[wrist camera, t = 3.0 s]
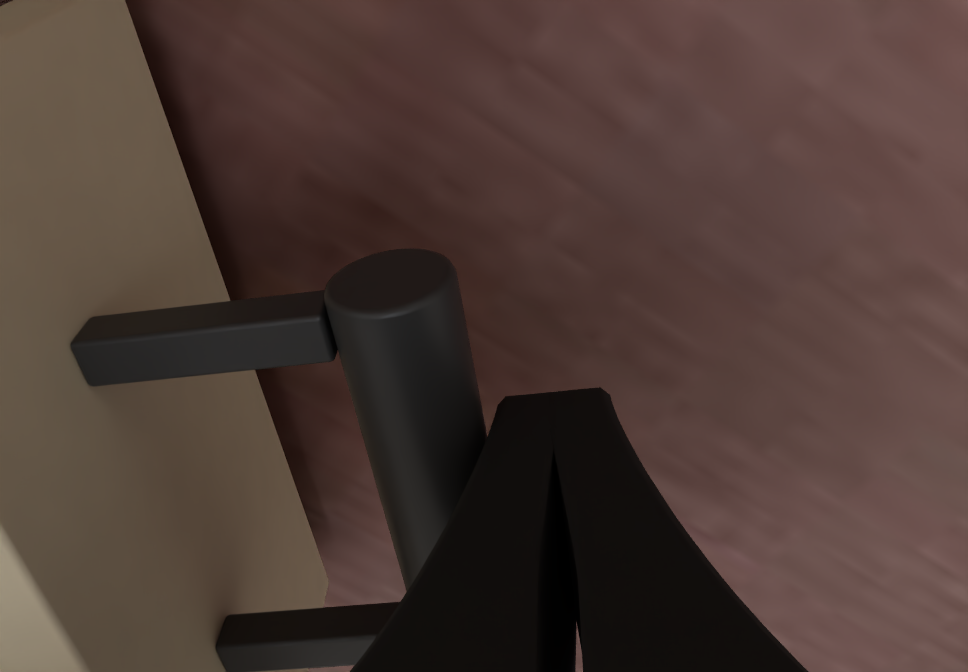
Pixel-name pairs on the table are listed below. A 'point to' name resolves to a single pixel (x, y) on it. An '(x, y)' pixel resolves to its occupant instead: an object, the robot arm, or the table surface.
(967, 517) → the table surface
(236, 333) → the drawer
